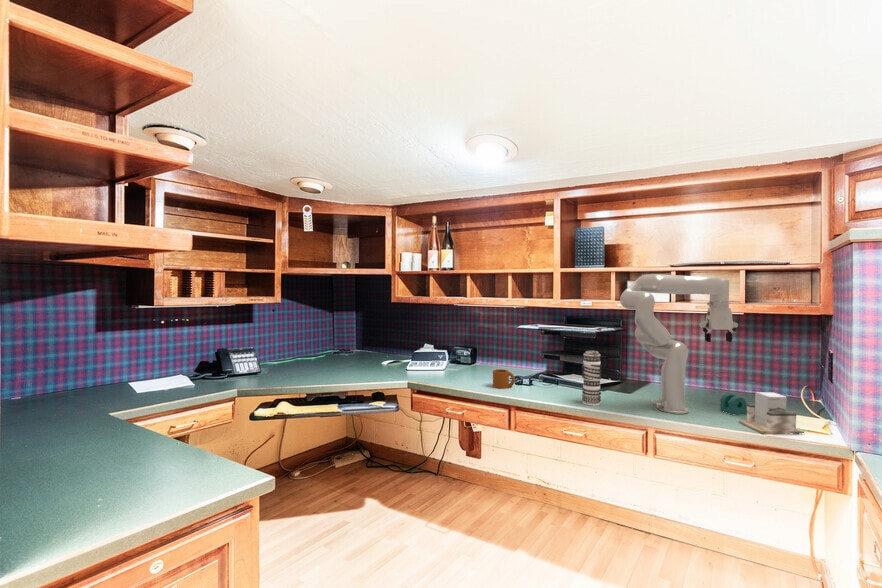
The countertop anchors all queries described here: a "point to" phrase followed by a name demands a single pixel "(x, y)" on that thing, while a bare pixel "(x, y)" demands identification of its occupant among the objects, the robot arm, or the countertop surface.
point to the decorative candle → (591, 378)
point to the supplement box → (768, 405)
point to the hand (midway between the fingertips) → (718, 341)
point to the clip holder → (772, 422)
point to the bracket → (733, 404)
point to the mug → (502, 379)
